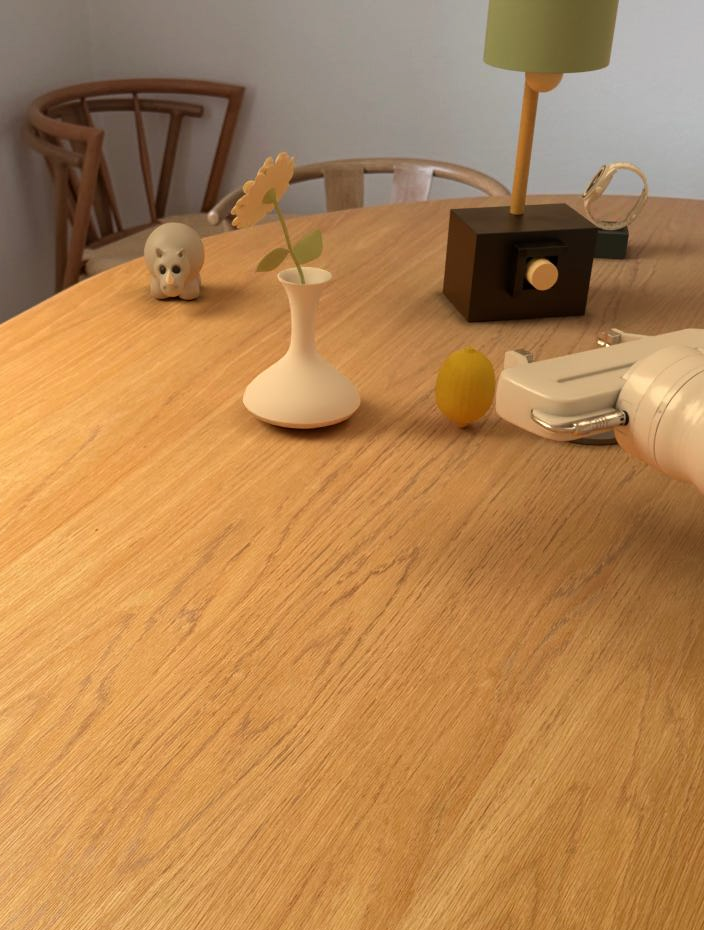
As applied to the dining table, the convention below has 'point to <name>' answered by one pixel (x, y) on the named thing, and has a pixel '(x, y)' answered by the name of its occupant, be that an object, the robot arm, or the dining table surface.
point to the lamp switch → (541, 273)
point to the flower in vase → (294, 321)
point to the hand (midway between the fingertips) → (558, 348)
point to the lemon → (465, 386)
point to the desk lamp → (528, 226)
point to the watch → (609, 233)
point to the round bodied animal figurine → (174, 261)
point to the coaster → (598, 439)
